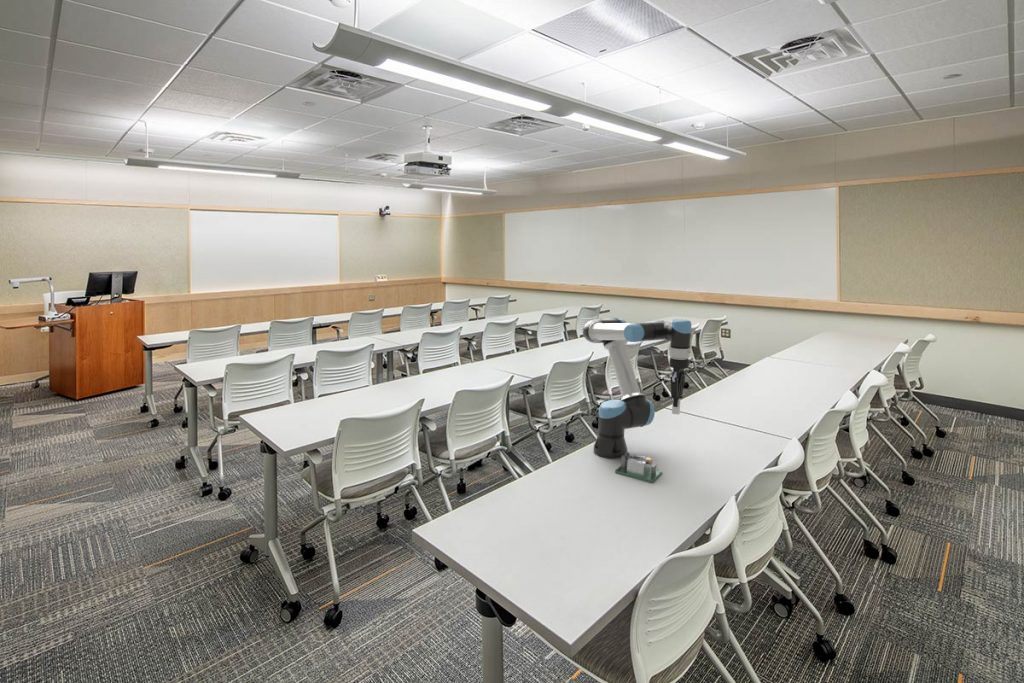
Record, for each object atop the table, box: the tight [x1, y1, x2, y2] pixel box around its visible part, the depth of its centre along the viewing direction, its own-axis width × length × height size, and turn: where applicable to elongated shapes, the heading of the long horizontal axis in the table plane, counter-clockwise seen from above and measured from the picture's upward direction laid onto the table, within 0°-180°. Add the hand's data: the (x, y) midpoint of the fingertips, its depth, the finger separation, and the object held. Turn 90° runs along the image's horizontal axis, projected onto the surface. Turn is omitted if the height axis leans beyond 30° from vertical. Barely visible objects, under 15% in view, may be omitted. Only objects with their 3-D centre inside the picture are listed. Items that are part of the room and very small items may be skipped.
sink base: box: [614, 452, 663, 484], centre depth 214 cm, size 16×11×6 cm
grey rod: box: [625, 455, 653, 465], centre depth 214 cm, size 12×2×2 cm, turn 55°
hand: (675, 413), depth 214 cm, fingers closed
